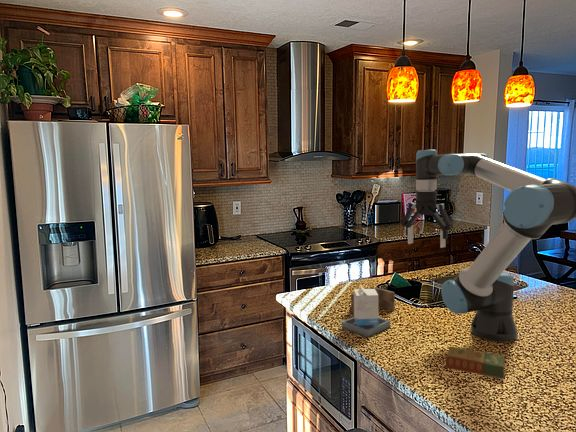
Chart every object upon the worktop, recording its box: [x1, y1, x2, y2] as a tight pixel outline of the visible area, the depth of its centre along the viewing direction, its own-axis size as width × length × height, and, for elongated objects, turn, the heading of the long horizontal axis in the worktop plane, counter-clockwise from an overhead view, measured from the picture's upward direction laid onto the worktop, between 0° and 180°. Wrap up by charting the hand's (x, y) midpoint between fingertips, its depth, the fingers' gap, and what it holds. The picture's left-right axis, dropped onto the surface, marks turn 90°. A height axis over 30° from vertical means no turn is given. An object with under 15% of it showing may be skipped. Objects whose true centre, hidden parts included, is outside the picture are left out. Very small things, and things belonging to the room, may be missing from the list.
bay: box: [348, 286, 396, 314], centre depth 181 cm, size 13×14×8 cm
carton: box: [445, 345, 506, 380], centre depth 131 cm, size 8×16×4 cm, turn 62°
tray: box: [341, 316, 391, 338], centre depth 164 cm, size 13×14×2 cm
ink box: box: [353, 285, 380, 326], centre depth 163 cm, size 9×8×13 cm
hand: (426, 245), depth 166 cm, fingers open, 13 cm apart
